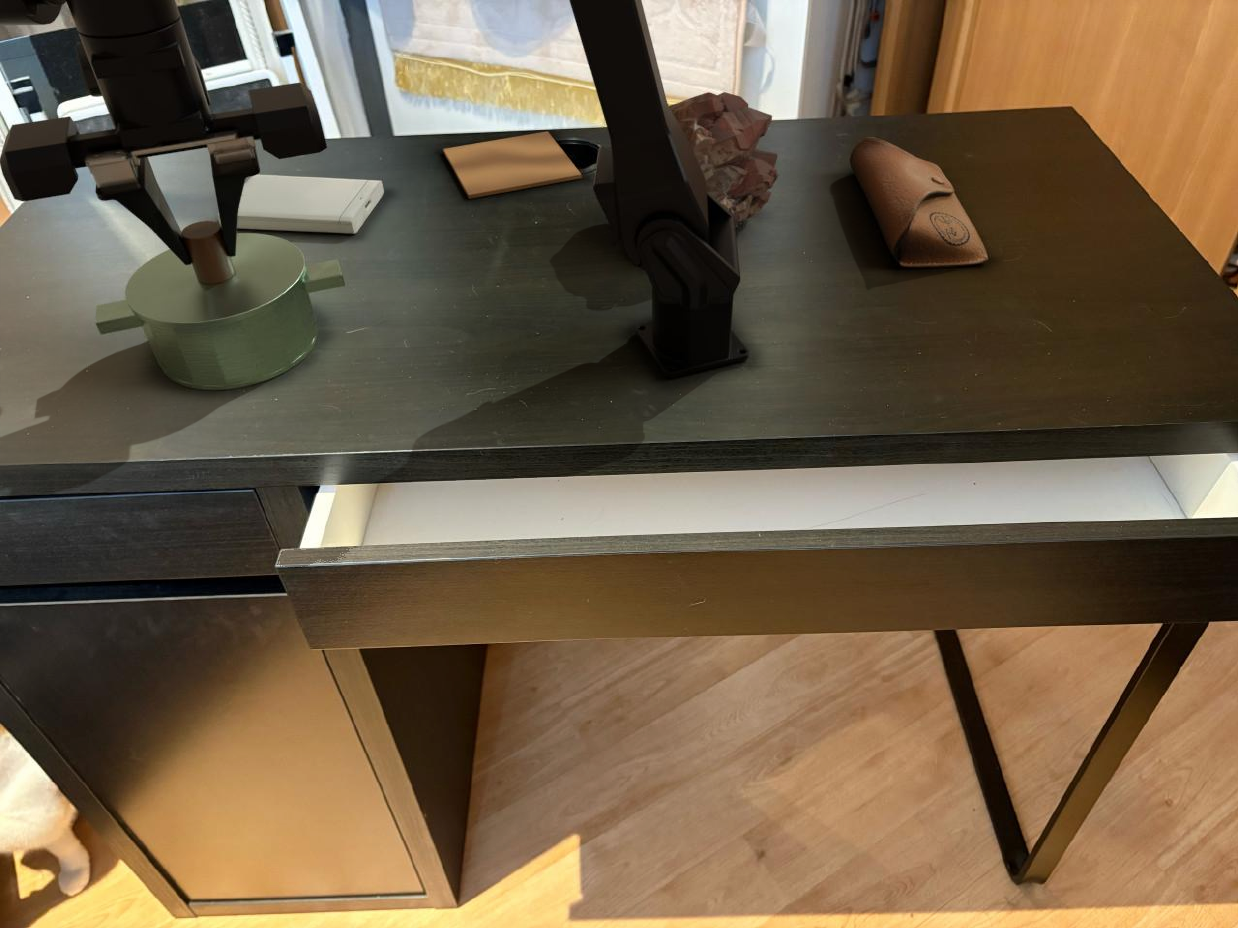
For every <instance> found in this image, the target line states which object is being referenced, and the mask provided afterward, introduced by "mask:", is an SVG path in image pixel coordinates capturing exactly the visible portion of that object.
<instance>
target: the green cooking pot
mask: <svg viewBox="0 0 1238 928" xmlns="http://www.w3.org/2000/svg"><path fill="white" fill-rule="evenodd" d="M344 286H346V283H345V279H344V274H343V273H342V268H341V265H340V262H339V259H337V258H336V259H331V260H327V261H321V262H317V263H311V264H310V263H309V264H306V273H305V277H304V279H303V281H302V283H301V284H300V286H299V287H298V288H297V289H296V290H295V291H294V292H293V293H292V294H291V295H290V296H289V297H287V298H286V299H285V300H283V301H282V302H280V303H279V304H277V305H275V306H274V307H272V308H270V309H268V310H266V311H264V312H262V313H260V314H257V315H255V316H252V317H249V318H247V319H243V320H240V321H237V322H233V323H229V324H224V325H219V326H213V327H205V328H190V329H183V328H170V327H163V326H158V325H154V324H151V323H149V322H146V321H144V320H142V319H140V318H139V317H138V316H136V315H135V314H134V313H133V312H132V311H131V309H130V308H129V305H128V303H127V301H126V299H123V300H119V301H112V302H108V303H102V304H98V305H96V308H95V309H96V311H95V321H94V322H95V323H94V324H95V325H96V328H97V330H98V332H99V334H100V335H102V336H103V335H107V334H112V333H116V332H121V331H127V330H131V329H136V328H142V329H143V332H144V334H145V337H146V339H147V341H148V344H149V346H150V348H151V351H152V352H153V355H154V358H155V360H156V362H157V364H158V366H159V367H160V368H161V370H162V371H163V373H164V374H165V376H166V377H168V379H170V380H171V381H173V382H175V383H176V384H179V385H181V386H183V387H186V388H191V389H196V390H206V391H225V390H233V389H240V388H245V387H249V386H254V385H256V384H257V385H258V384H259V383H263V382H266V381H269V380H271V379H273V378H276V377H278V376H280V375H282V374H284V373H286V372H288V371H289V370H291V369H293V368H294V367H295V366H297V365H298V364H299V363H301V362H302V361H303V360H304V359H305V358H306V357H307V356H308V355H309V354H310V353H311V351H312V350H313V348H314V347H315V345H316V342H317V340H318V335H319V329H318V324H317V323H318V322H317V319H316V316H315V312H314V309H313V308H314V307H313V306H312V301H311V296H310V294H311V293H315V292H320V291H325V290H330V289H336V288H340V287H344Z"/></svg>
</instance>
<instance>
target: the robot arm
mask: <svg viewBox="0 0 1238 928" xmlns="http://www.w3.org/2000/svg"><path fill="white" fill-rule="evenodd" d="M568 1H569V5H570V8H571V11H572V14H573V17H574V20H575V24H576V26H577V30H578V31H577V32H578V35H579V37H580V41H581V44H582V48H583V51H584V54H585V58H586V61H587V65H588V68H589V71H590V74H591V78H592V81H593V85H594V88H595V91H596V95H597V99H598V102H599V105H600V108H601V111H602V115H603V119H604V121H605V124H606V128H607V132H608V135H609V138H610V146H603V147H599V148H598V150H597V157H596V164H595V171H594V177H593V178H594V179H593V186H592V190H593V192H594V195H595V197H596V200H597V203H598V204H599V206H600V208H601V210H602V212H603V213H604V216H605V218H606V220H607V221H608V228H609V239H608V245H609V246H610V247H615V246H616V245H617V243H619V245H620V248H621V251H622V253H623V255H624V257H625V258H626V260H627V262H628V263H630V264H631V266H633V267H635V268H639V269H641V270H643V271H645V273H646V275H647V278H648V280H649V282H650V285H651V321H650V322H646V323H642V324H641V323H640V324H638V325H636V326H635V330H634V331H635V335H636V336H637V338H638V340H639V341H640V342H641V344H642V345H643V347H644V348H645V350H646V351H647V353H648V354H649V355H650V357H651V359H652V360H653V361H654V363H655V364H656V366H657V368H658V369H659V370H660V372H661V373H662V374H663V376H664V377H666V378H669V379H673V378H676V377H681V376H686V375H689V374H693V373H698V372H702V371H706V370H710V369H714V368H718V367H723V366H726V365H730V364H735V363H739V362H742V361H746V360H748V359H749V357H750V350H749V348H748V347H746V346H745V345H746V344H744V343H743V341H741V339H740V338H739V337H738V336H737V334H736V333H735V332H734V331H733V329H732V327H733V326H732V325H733V311H734V295H735V293H736V291H737V289H738V287H739V285H740V283H741V269H740V259H739V250H738V239H737V230H736V228H737V227H736V228H735V218H734V216H733V215H732V214H731V213H730V212H729V211H728V210H727V209H726V208H725V207H724V206H723V205H722V204H721V203H720V202H719V201H718V200H717V199H716V198H714V197H713V196H712V195H711V194H710V193H709V192H708V191H707V183H706V180H705V177H704V174H703V172H702V170H701V167H700V165H699V163H698V161H697V158H696V156H695V154H694V152H693V149H692V147H691V145H690V143H689V141H688V138H687V136H686V135H685V133H684V132H683V130H682V128H681V127H680V125H679V123H678V122H677V120H676V118H675V117H674V115H673V113H672V111H671V110H670V107H669V106H670V105H669V102H668V100H667V96H666V93H665V88H664V85H663V81H662V76H661V73H660V69H659V65H658V61H657V56H656V52H655V49H654V45H653V40H652V37H651V33H650V28H649V24H648V20H647V17H646V13H645V8H644V4H643V1H642V0H568ZM65 4H67V8H68V10H69V13H70V15H71V17H72V19H73V22H74V26H75V28H76V31H77V34H78V36H79V38H80V41H81V44H75V45H74V48H75V52H76V57H77V60H78V64H79V69H80V72H81V75H82V77H83V82H84V83H85V87H86V89H87V91H88V94H89V95H90V96H91V97H94V98H99V97H102V99H103V101H104V104H105V107H106V110H107V112H108V114H109V117H110V120H111V122H112V125H113V127H114V128H112V129H105V130H98V131H92V132H91V131H90V132H85V133H84V132H83V133H81V132H80V130H79V128H78V126H77V123H75V121H74V120H73V119H72V117H71V116H62V117H57V118H50V119H43V120H36V121H29V122H28V121H27V122H22V123H16V124H15V123H14V124H11V126H10V128H9V130H8V132H7V134H6V136H5V139H4V143H3V147H2V150H1V154H0V170H1V175H2V176H3V178H4V180H5V182H6V184H7V187H8V189H9V191H10V193H11V195H12V197H13V199H14V200H16V201H18V202H19V201H20V202H29V201H30V202H31V201H35V200H42V199H47V198H54V197H60V196H66V195H70V194H71V192H72V191H73V189H74V187H75V186H76V184H77V183H78V180H79V174H78V171H77V169H82V168H88V170H89V173H90V174H91V175H92V177H93V180H94V183H95V194H96V197H97V199H98V200H99V201H102V202H105V201H106V202H107V201H116V202H118V204H119V205H121V206H122V207H124V208H125V209H126V210H127V211H129V212H130V213H131V214H132V215H134V216H135V217H136V218H137V219H138V220H140V221H141V222H142V223H143V224H144V225H145V226H146V227H148V228H149V229H150V230H151V231H152V232H153V233H154V234H155V235H156V237H158V238H159V239H160V241H161V242H162V243H163V244H164V245H165V246H167V248H168V250H169V249H170V250H171V251H172V252H173V253H174V254H175V255H176V256H177V257H178V258H179V259H180V260H181V261H182V262H183V263H184V264H185V265H191V260H190V257H189V255H188V252H187V249H186V246H185V244H184V241H183V238H182V235H181V232H182V230H181V227H180V226H179V224H178V222H177V220H176V217H175V216H174V214H173V212H172V210H171V207H170V206H169V204H168V202H167V200H166V198H165V195H164V193H163V192H162V189H161V187H160V185H159V183H158V181H157V179H156V175H155V173H154V171H153V167H152V166H151V163H150V159H149V158H151V157H157V156H163V155H169V154H176V153H183V152H188V151H194V150H195V151H196V150H201V149H207V150H208V153H209V160H210V168H211V176H212V182H213V187H214V193H215V199H216V204H217V210H218V212H219V216H220V222H221V228H222V233H223V238H224V243H225V245H226V248H227V251H228V253H229V256H230V257H233V256H236V240H237V233H238V228H237V220H238V209H239V204H240V200H241V195H242V191H243V187H244V184H245V183H246V179H247V178H249V177H250V178H251V177H252V176H255V175H260V173H261V166H260V162H259V157H258V156H259V155H258V152H257V143H256V141H257V140H260V143H261V146H262V149H263V151H265V152H267V153H268V154H270V155H272V156H273V157H275V158H276V159H278V160H282V159H283V160H284V159H289V158H294V157H300V156H301V157H302V156H306V155H308V156H309V155H313V154H319V153H322V152H323V151H325V150H326V149H328V145H327V141H326V136H325V132H324V128H323V125H322V120H321V116H320V113H319V109H318V107H317V104H316V101H315V97H314V95H313V93H312V90H311V89H310V88H309V87H307V86H306V85H305V84H303V83H301V82H294V83H293V82H292V83H287V84H280V85H274V86H273V85H272V86H267V87H259V88H254V89H248V94H249V98H250V104H251V107H249V108H243V109H236V110H230V111H223V112H216V113H211V110H210V106H211V105H212V103H211V98H210V95H209V90H208V88H207V85H206V81H205V78H204V75H203V72H202V68H201V65H200V63H199V61H198V59H196V57H195V56H194V54H193V52H192V49H191V46H190V42H189V39H188V36H187V32H186V29H185V26H184V23H183V19H182V16H181V14H180V11H179V7H178V4H177V1H176V0H0V26H46V25H50V24H53V23H54V22H55V21H56V20H57V19H58V18H59V16H60V14H61V11H62V7H63V5H65Z"/></svg>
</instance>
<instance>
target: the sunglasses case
mask: <svg viewBox="0 0 1238 928" xmlns="http://www.w3.org/2000/svg"><path fill="white" fill-rule="evenodd" d="M849 165H850V168H851V170H852V173H853V175H854V176H855V178H856V180H857V181H858V183H859V186H860V188H861V189H862V191H863V193H864V196H865V198H866V200H867V202H868V204H869V207H870V208H871V210H872V212H873V213H872V214H873V215H874V217H875V220H876V222H877V224H878V226H879V229H880V231H881V234H882V236H883V238H884V241H885V243H886V246H887V247H888V250H889V252H890V254H891V255H892V257H893V258H894V259H895V260H896V262H897V263H898V265H900V266H901V267H903V268H908V269H909V268H917V269H919V268H920V269H940V268H943V269H944V268H955V267H964V266H973V265H979V264H980V265H981V264H983V263H985V262H987V261H988V260H989V257H988V253H987V249H986V248H985V245H984V243H983V241H982V239H981V237H980V235H979V233H978V231H977V229H976V227H975V225H974V224H973V222H972V220H971V218H970V217H969V216H968V214H967V212H966V210H965V209H964V206H963V205H962V204H961V201H960V200H959V198H958V197H957V195H956V193H955V189H954V187H953V185H952V183H951V181H949V179H948V178H947V177H946V176H945V173H944V172H943V171H942V169H941V168H940V166H938V164H936V163H934V162H932V161H928V160H924V159H922V158H919V157H916V156H915V155H913V154H912V153H910V152H908V151H906V150H904V149H903V148H900V147H898V146H897V145H894V144H892V143H890V142H888V141H886V140H883V139H881V138H876V137H874V136H869V137H868V136H867V137H865V138H863V139H862V140H860V141H859V142H858V143H857V144H856V145H855V146H854V147H853V149H852V151H851V153H850V157H849Z"/></svg>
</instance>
